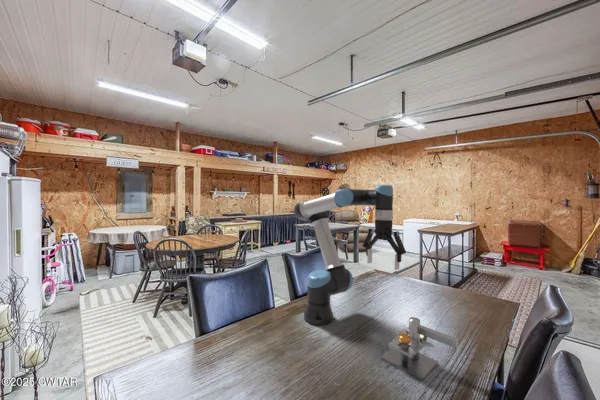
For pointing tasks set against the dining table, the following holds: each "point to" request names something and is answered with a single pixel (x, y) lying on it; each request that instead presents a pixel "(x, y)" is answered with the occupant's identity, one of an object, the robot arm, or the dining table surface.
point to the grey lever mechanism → (416, 350)
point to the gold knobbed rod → (405, 341)
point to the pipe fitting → (422, 337)
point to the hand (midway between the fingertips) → (382, 266)
